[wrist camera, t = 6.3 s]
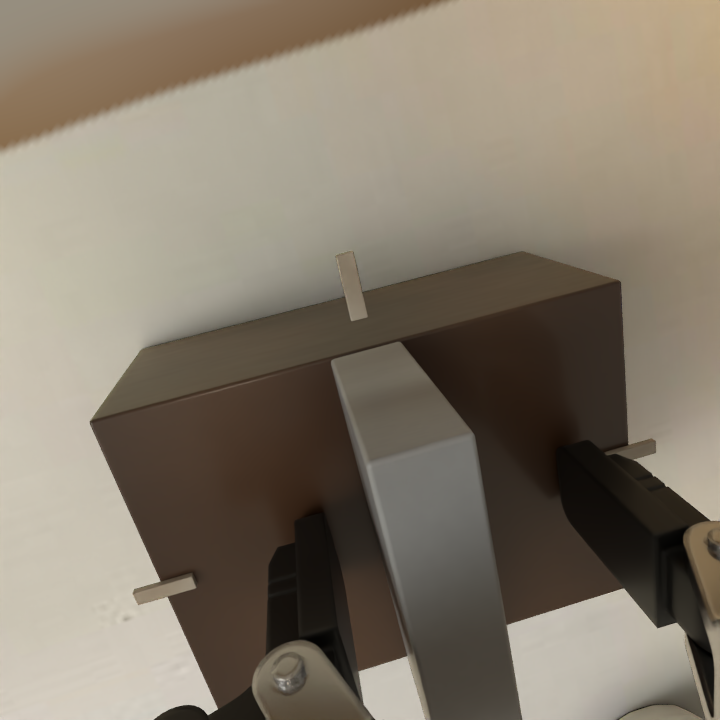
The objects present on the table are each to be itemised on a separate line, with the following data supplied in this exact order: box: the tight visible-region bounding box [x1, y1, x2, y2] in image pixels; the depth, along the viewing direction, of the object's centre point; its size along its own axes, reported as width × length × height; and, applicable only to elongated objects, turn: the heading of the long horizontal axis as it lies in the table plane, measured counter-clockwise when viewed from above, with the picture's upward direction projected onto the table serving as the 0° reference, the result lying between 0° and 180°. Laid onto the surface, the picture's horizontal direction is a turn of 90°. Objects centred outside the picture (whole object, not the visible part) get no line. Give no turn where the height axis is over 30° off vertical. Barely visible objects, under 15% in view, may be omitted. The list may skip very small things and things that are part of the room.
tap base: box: [90, 251, 656, 709], centre depth 15 cm, size 13×13×5 cm
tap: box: [331, 342, 522, 720], centre depth 11 cm, size 9×2×5 cm, turn 13°
